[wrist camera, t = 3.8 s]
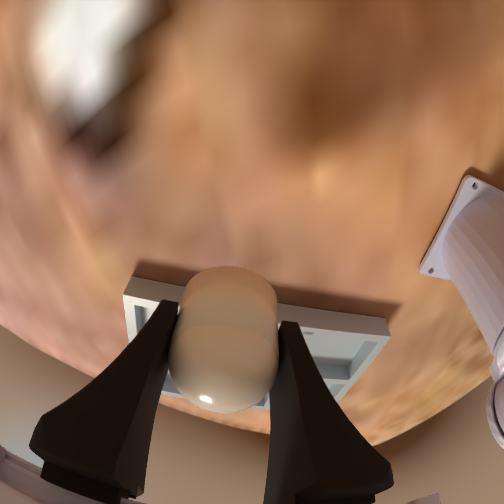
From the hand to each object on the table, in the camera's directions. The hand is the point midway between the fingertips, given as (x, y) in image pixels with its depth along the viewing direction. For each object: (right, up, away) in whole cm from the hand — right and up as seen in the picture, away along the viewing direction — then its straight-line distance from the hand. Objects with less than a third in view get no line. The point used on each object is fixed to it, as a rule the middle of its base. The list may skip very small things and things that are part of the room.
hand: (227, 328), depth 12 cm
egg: (0, +1, +1) cm, 1 cm away
